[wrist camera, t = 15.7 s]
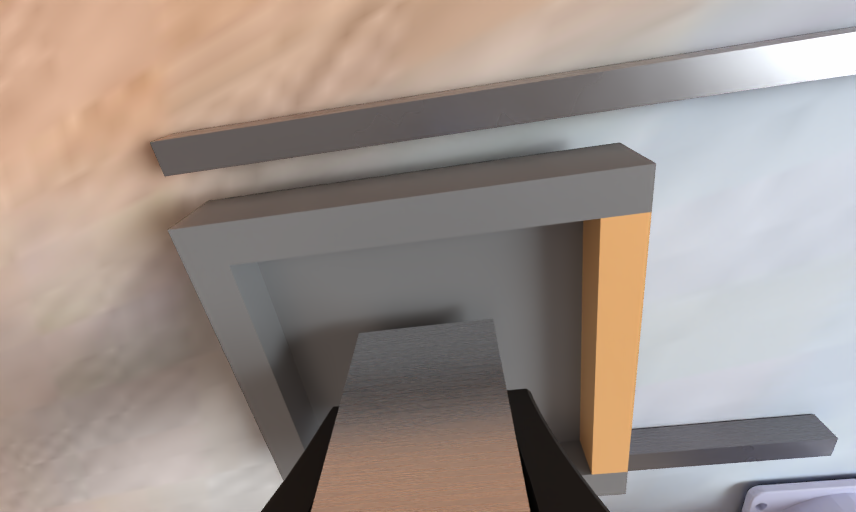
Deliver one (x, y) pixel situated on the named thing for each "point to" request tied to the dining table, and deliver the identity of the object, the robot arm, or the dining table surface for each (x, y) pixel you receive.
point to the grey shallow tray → (438, 287)
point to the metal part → (424, 426)
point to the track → (550, 101)
